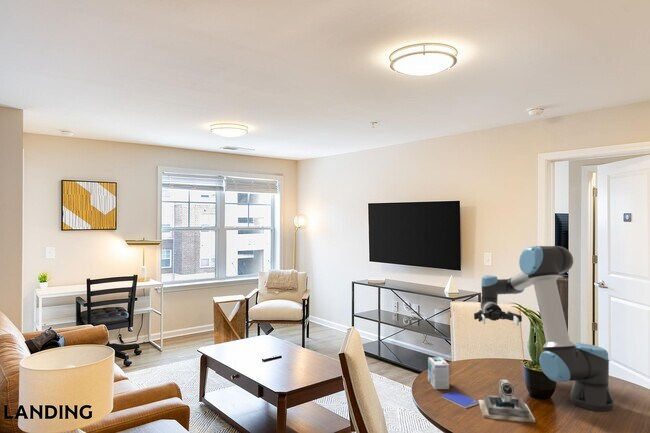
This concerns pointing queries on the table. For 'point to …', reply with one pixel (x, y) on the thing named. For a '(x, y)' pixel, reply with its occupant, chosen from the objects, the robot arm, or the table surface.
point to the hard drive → (460, 399)
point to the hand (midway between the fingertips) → (500, 321)
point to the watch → (505, 394)
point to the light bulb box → (438, 373)
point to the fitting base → (505, 409)
